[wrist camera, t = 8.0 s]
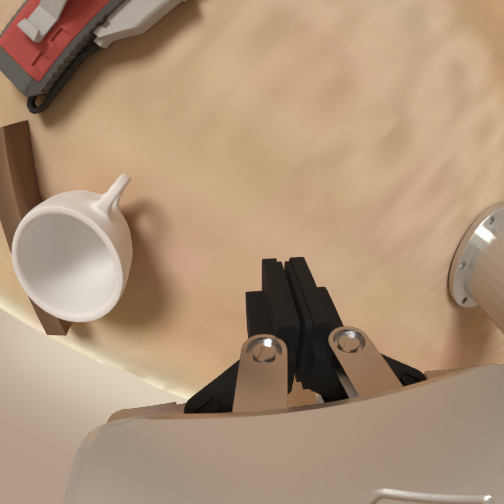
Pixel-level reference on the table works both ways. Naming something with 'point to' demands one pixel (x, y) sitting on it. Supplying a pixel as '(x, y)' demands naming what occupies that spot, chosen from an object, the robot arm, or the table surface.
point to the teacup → (75, 253)
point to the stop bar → (21, 199)
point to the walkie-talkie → (67, 39)
